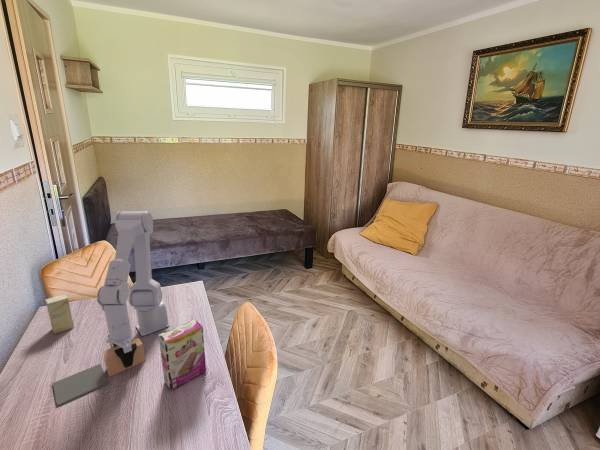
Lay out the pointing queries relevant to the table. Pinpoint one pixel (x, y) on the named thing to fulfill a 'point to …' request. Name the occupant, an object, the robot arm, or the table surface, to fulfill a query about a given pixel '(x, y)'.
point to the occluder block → (115, 362)
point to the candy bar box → (182, 353)
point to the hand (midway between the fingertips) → (125, 359)
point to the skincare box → (59, 313)
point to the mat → (79, 384)
